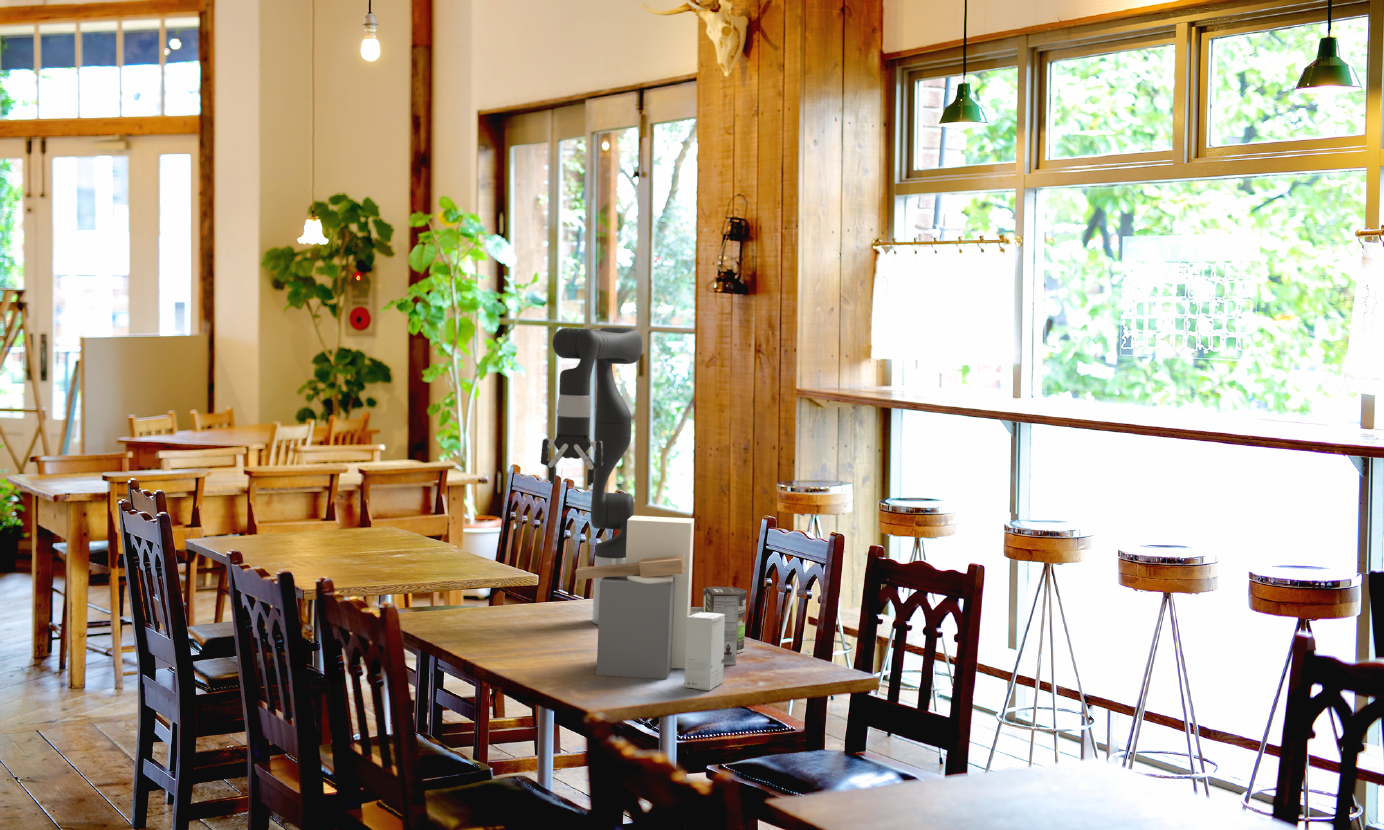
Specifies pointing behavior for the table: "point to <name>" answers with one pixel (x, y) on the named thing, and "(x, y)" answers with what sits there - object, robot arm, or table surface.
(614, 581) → the gray box
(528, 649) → the table surface
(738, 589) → the coffee can
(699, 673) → the skincare box
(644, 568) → the oak block
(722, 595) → the coffee box
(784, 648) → the table surface
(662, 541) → the tall plinth
